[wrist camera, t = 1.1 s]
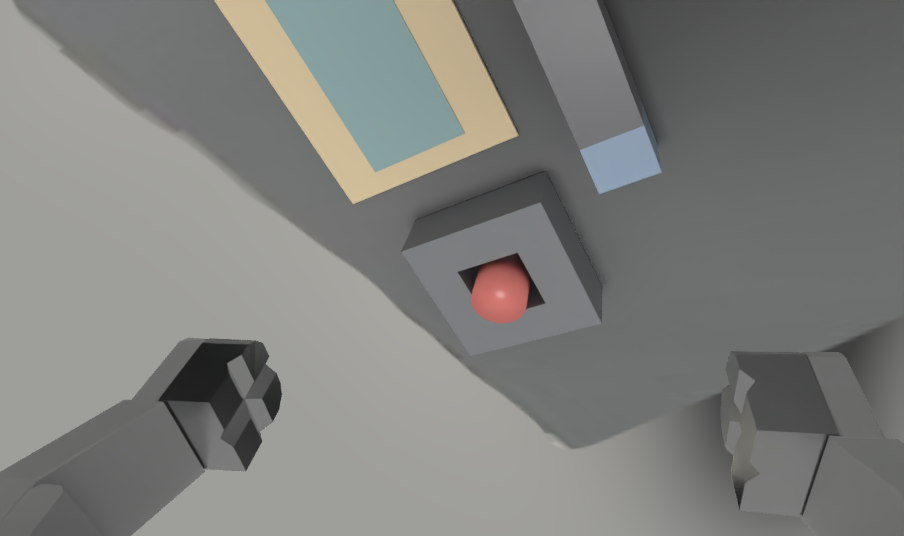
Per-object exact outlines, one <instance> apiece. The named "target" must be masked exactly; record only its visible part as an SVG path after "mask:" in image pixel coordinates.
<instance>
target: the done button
mask: <svg viewBox="0 0 904 536" xmlns="http://www.w3.org/2000/svg"><path fill="white" fill-rule="evenodd" d="M530 281H531V276H530V274H529V272H528V270H527V269H526V267H525V265H524V263H523V261H522V260H521V258H520V256H519V254H518V253H515V254H512V255H509V256H506V257H503V258H499V259H496V260H493V261H490V262H487V263H484V264H481V265H480V266H479V270H478V273H477V277H476V280H475V284H474V288H473V291H472V295H471V303H472V306H473V308H474V310H475V311H476V312H477V313H478V314H479V315H480V316H481V317H483V318H484V319H486V320H488V321H491V322H495V323H509V322H513V321H515V320H517V319H519V318H520V317H521V316H522V315H523V314H524V312H525V310H526V306H527V300H528V293H529V287H530Z"/></svg>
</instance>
